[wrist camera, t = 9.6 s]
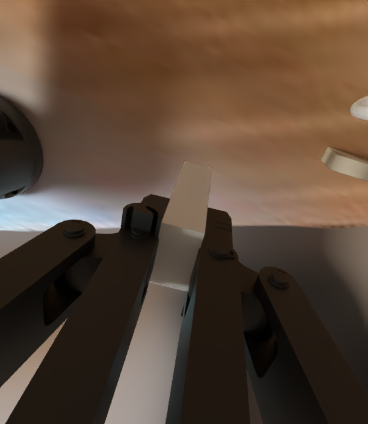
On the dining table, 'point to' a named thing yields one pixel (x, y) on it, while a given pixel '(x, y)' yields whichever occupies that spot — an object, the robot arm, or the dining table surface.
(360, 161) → the dock
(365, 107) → the mug
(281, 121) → the dining table surface
